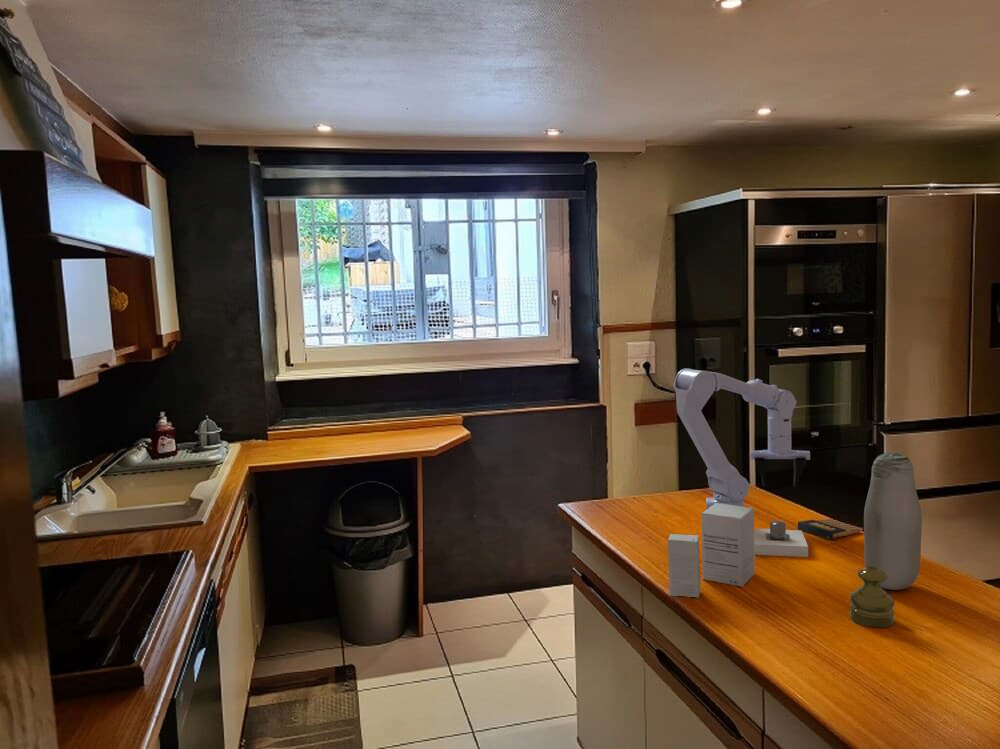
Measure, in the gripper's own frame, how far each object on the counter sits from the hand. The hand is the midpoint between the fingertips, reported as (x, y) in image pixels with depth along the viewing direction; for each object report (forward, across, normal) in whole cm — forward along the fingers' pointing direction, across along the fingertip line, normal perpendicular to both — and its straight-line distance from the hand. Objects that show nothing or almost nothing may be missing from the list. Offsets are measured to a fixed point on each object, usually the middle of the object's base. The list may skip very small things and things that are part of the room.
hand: (779, 486), depth 196 cm
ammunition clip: (+9, +7, -8) cm, 14 cm away
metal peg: (+10, -3, -18) cm, 21 cm away
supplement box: (+10, -15, -39) cm, 43 cm away
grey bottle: (+11, +17, -41) cm, 45 cm away
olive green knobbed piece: (+10, +9, -57) cm, 59 cm away
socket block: (+10, -3, -18) cm, 21 cm away
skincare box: (+10, -24, -49) cm, 56 cm away
